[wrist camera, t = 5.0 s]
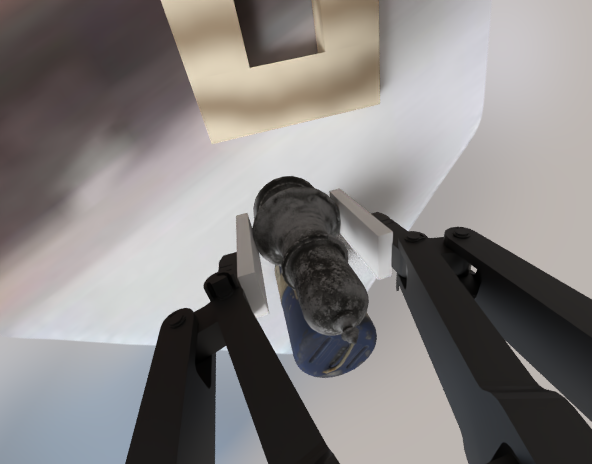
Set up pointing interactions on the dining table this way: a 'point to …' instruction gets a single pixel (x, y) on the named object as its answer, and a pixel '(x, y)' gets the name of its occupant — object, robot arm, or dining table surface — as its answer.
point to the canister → (322, 339)
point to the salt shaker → (310, 254)
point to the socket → (276, 67)
